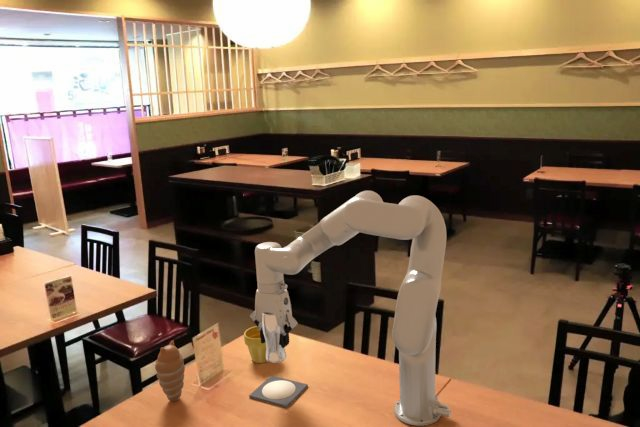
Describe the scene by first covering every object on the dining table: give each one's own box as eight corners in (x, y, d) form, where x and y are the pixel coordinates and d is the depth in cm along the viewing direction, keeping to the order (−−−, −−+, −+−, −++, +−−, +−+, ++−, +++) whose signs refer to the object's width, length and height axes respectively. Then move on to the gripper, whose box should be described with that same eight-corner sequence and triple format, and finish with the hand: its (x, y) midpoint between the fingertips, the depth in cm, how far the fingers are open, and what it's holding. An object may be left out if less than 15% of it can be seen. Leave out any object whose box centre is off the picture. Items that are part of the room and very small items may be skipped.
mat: (307, 386, 160) (307, 384, 159) (286, 408, 149) (286, 405, 149) (271, 377, 166) (271, 375, 165) (249, 397, 155) (249, 394, 155)
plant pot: (246, 352, 183) (244, 326, 180) (276, 349, 184) (274, 323, 181) (245, 367, 173) (243, 340, 170) (277, 364, 174) (275, 337, 171)
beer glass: (277, 366, 150) (273, 317, 147) (259, 359, 154) (255, 311, 151) (292, 355, 156) (290, 308, 152) (275, 349, 160) (272, 303, 156)
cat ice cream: (174, 389, 162) (167, 335, 158) (194, 394, 158) (188, 339, 154) (153, 405, 154) (146, 348, 150) (174, 411, 151) (167, 353, 147)
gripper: (303, 285, 149) (307, 343, 153) (253, 277, 157) (257, 332, 161) (290, 294, 142) (293, 355, 147) (238, 286, 151) (243, 343, 155)
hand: (274, 343), depth 154 cm, fingers closed on beer glass, 6 cm apart
